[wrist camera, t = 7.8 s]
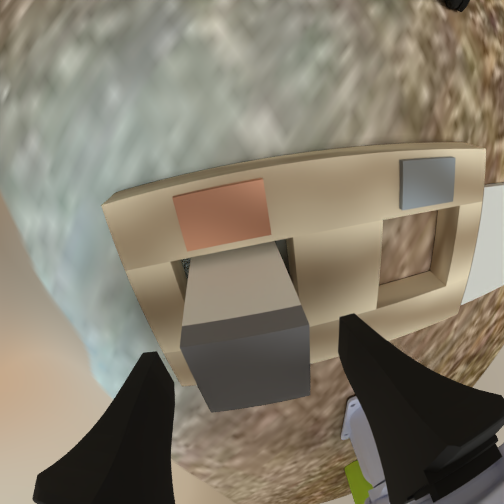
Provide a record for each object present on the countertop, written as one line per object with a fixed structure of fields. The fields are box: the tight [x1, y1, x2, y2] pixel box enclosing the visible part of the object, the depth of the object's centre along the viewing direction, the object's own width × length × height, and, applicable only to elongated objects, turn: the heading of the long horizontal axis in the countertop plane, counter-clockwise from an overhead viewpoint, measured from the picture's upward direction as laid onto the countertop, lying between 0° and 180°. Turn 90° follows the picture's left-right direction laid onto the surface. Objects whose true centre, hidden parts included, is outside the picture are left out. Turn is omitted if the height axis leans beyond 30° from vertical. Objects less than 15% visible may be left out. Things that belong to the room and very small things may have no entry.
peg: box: [180, 241, 310, 412], centre depth 12 cm, size 4×4×7 cm
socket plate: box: [101, 142, 486, 386], centre depth 15 cm, size 12×20×2 cm, turn 99°
